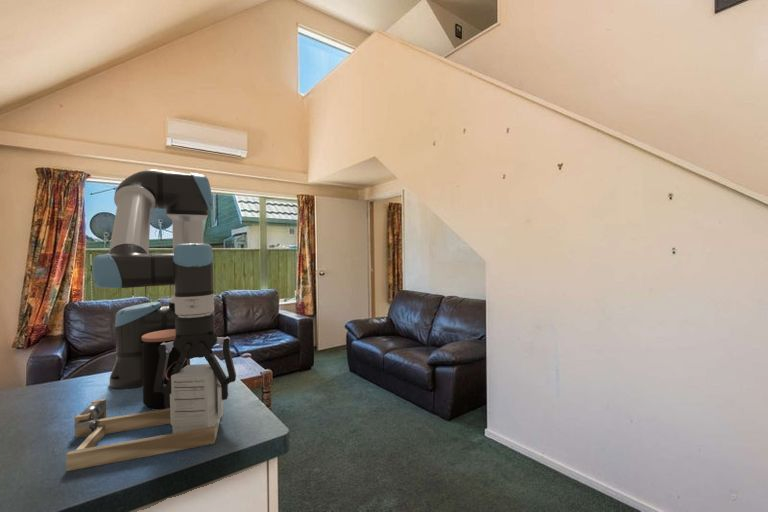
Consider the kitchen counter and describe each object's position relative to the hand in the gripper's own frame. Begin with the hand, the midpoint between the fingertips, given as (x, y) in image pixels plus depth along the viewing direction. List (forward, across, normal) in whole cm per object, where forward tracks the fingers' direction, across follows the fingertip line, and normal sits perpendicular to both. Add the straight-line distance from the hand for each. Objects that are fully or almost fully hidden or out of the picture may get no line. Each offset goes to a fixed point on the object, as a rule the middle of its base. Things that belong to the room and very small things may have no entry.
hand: (197, 417), depth 76 cm
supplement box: (+2, 0, 0) cm, 2 cm away
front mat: (+3, 0, 0) cm, 3 cm away
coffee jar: (+3, -10, +20) cm, 22 cm away
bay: (+3, -8, 0) cm, 8 cm away
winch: (+3, -22, +10) cm, 24 cm away
